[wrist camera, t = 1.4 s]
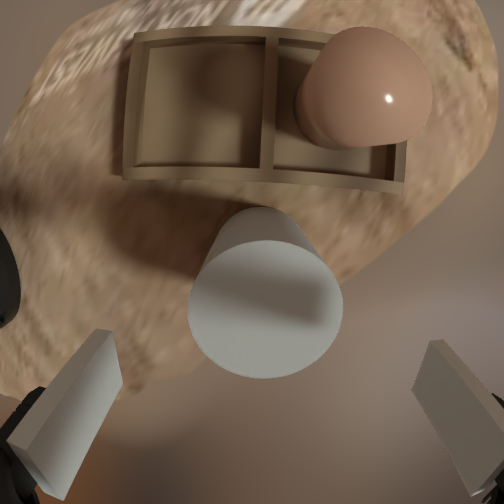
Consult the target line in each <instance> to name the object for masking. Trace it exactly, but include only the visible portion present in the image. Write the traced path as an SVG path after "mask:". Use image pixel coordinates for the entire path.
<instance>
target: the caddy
mask: <svg viewBox="0 0 504 504" xmlns="http://www.w3.org/2000/svg"><path fill="white" fill-rule="evenodd" d="M334 35H335V34H329V33H322V32H315V31H308V30H299V29H289V28H277V27H261V26H199V27H183V28H171V29H162V30H153V31H146V32H139V33H134V37H133V44H132V51H131V58H130V66H129V74H128V83H127V93H126V105H125V118H124V136H123V169H122V180H152V179H186V180H231V181H255V182H274V183H290V184H305V185H317V186H329V187H340V188H350V189H360V190H369V191H378V192H387V193H395V194H402V195H403V190H404V178H405V164H406V146H407V140H406V141H403V142H400V143H395V144H386V145H377V146H369V147H361V148H354V149H347V150H329V149H325V148H322V147H320V146H317V145H316V144H314V143H312V142H311V141H310V140H308V139H307V138H306V137H305V136H304V135H303V133H302V132H301V131H300V129H299V127H298V126H297V123H296V121H295V118H294V113H293V100H294V96H295V94H296V91H297V90H298V88H299V86H300V85H301V83H302V81H303V80H304V78H305V76H306V75H307V73H308V72H309V70H310V68H311V67H312V65H313V63H314V62H315V60H316V59H317V57H318V55H319V54H320V52H321V51H322V49H323V48H324V46H325V44H326V43H327V42H328V41H329V40H330V39H331V38H332V37H333V36H334Z"/></svg>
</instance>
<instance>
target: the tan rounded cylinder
mask: <svg viewBox="0 0 504 504" xmlns="http://www.w3.org/2000/svg"><path fill="white" fill-rule="evenodd" d="M432 103H433V93H432V86H431V81H430V78H429V75H428V73H427V70H426V68H425V66H424V65H423V63H422V61H421V60H420V58H419V57H418V56H417V54H416V53H415V52H414V51H413V50H412V49H411V48H410V47H409V46H408V45H407V44H406V43H405V42H403V41H402V40H401V39H399V38H398V37H396V36H394V35H392V34H390V33H388V32H386V31H383V30H380V29H377V28H371V27H354V28H349V29H346V30H343V31H341V32H339V33H337V34H336V35H334V36H333V37H332V38H331V39H330V40H329V41H328V42H327V43H326V44H325V46H324V48H323V49H322V51H321V52H320V54H319V55H318V57H317V59H316V60H315V62H314V63H313V65H312V67H311V68H310V70H309V72H308V73H307V75H306V76H305V78H304V80H303V81H302V83H301V85H300V86H299V88H298V90H297V91H296V94H295V96H294V100H293V113H294V118H295V121H296V123H297V126H298V127H299V129H300V131H301V132H302V133H303V135H304V136H305V137H306V138H307V139H308V140H310V141H311V142H312V143H314V144H316V145H317V146H320V147H322V148H325V149H329V150H347V149H354V148H361V147H369V146H377V145H386V144H395V143H400V142H403V141H406V140H408V139H410V138H412V137H413V136H415V135H416V134H417V133H419V131H420V130H421V129H422V128H423V127H424V125H425V124H426V122H427V120H428V118H429V116H430V113H431V109H432Z"/></svg>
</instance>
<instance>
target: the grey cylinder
mask: <svg viewBox="0 0 504 504" xmlns="http://www.w3.org/2000/svg"><path fill="white" fill-rule="evenodd" d="M342 315H343V300H342V294H341V290H340V287H339V285H338V282H337V280H336V278H335V276H334V275H333V273H332V272H331V270H330V269H329V267H328V266H327V265H326V263H325V262H324V260H323V259H322V258H321V256H320V255H319V253H318V252H317V250H316V249H315V248H314V246H313V245H312V244H311V242H310V241H309V239H308V238H307V237H306V235H305V234H304V232H303V231H302V230H301V228H300V227H299V226H298V224H297V223H296V222H295V221H294V220H293V219H292V218H291V217H290V216H288V215H287V214H285V213H284V212H282V211H280V210H277V209H274V208H270V207H252V208H247V209H244V210H242V211H240V212H238V213H236V214H234V215H233V216H232V217H230V218H229V219H228V220H227V221H226V222H225V223H224V225H223V226H222V227H221V229H220V231H219V233H218V235H217V237H216V239H215V241H214V243H213V245H212V247H211V249H210V251H209V253H208V255H207V257H206V259H205V261H204V263H203V265H202V267H201V270H200V272H199V274H198V276H197V278H196V280H195V282H194V284H193V286H192V289H191V292H190V295H189V300H188V322H189V326H190V330H191V332H192V335H193V337H194V339H195V341H196V343H197V344H198V346H199V347H200V349H201V350H202V351H203V352H204V353H205V354H206V355H207V357H209V358H210V359H211V360H212V361H214V362H215V363H216V364H218V365H219V366H220V367H222V368H224V369H226V370H228V371H230V372H233V373H235V374H238V375H242V376H246V377H252V378H275V377H281V376H285V375H289V374H292V373H295V372H297V371H300V370H302V369H304V368H305V367H307V366H309V365H310V364H312V363H313V362H315V361H316V360H317V359H318V358H320V357H321V356H322V355H323V354H324V352H325V351H326V350H327V349H328V348H329V347H330V345H331V344H332V342H333V341H334V339H335V337H336V335H337V333H338V331H339V328H340V325H341V320H342Z"/></svg>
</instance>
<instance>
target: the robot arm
mask: <svg viewBox="0 0 504 504" xmlns="http://www.w3.org/2000/svg"><path fill="white" fill-rule="evenodd" d="M20 297H21V289H20V279H19V274H18V269H17V265H16V262H15V259H14V256H13V253H12V250H11V248H10V246H9V244H8V242H7V240H6V238H5V236H4V234H3V233H2V231H1V230H0V329H1V328H3V327H4V326H5V325H6V324H8V323H9V322H10V321H11V320H13V319H14V317H15V316H16V314H17V312H18V309H19V305H20ZM122 385H123V381H122V377H121V372H120V368H119V363H118V358H117V354H116V349H115V343H114V338H113V332H112V331H107V330H101V329H96V330H95V331H94V332H93V333H92V334H91V335H90V336H89V338H88V339H87V340H86V341H85V342H84V343H83V345H82V346H81V347H80V348H79V349H78V350H77V352H76V353H75V354H74V355H73V356H72V358H71V359H70V360H69V361H68V362H67V363H66V365H65V366H64V367H63V368H62V370H61V371H60V372H59V373H58V374H57V376H56V377H55V378H54V379H53V381H52V382H51V383H50V384H49V385H48V387H47V388H44V387H41V386H39V387H38V388H36V389H35V390H33V391H31V392H30V393H29V394H28V395H27V396H26V397H25V398H24V400H23V401H22V404H19V406H18V407H17V408H16V411H14V412H13V413H12V414H11V416H10V417H9V418H8V419H7V421H6V422H5V423H4V425H3V426H2V427H1V429H0V504H40V502H39V499H38V496H37V494H36V492H35V490H34V488H35V487H36V485H37V484H38V485H39V486H40V488H41V489H42V490H43V491H44V492H45V493H47V494H49V495H51V496H54V497H56V498H58V499H60V500H63V501H64V499H65V496H66V494H67V492H68V490H69V488H70V486H71V484H72V482H73V480H74V477H75V475H76V473H77V471H78V469H79V467H80V465H81V463H82V461H83V459H84V457H85V455H86V453H87V451H88V449H89V447H90V445H91V443H92V441H93V439H94V437H95V435H96V434H97V431H98V430H99V428H100V426H101V424H102V422H103V420H104V418H105V416H106V414H107V413H108V411H109V409H110V407H111V405H112V403H113V401H114V399H115V398H116V396H117V394H118V392H119V390H120V388H121V387H122ZM412 391H413V393H414V395H415V396H416V398H417V400H418V401H419V403H420V405H421V407H422V408H423V410H424V412H425V413H426V415H427V417H428V418H429V420H430V422H431V424H432V425H433V427H434V429H435V430H436V432H437V434H438V436H439V438H440V440H441V441H442V443H443V445H444V447H445V449H446V450H447V452H448V454H449V456H450V458H451V460H452V461H453V463H454V465H455V467H456V469H457V471H458V473H459V475H460V477H461V478H462V480H463V482H464V484H465V486H466V488H467V490H468V492H469V494H470V496H473V495H475V494H478V493H480V492H482V491H484V490H485V489H487V488H488V486H489V485H490V484H491V483H492V482H493V481H494V480H495V481H496V483H497V485H496V486H495V487H494V488H493V489H492V490H491V491H490V492H489V493H488V494H487V495H486V496H485V497H484V499H483V501H482V503H484V502H485V501H486V500H487V499H488V498H489V497H490V496H491V499H490V500H489V501H488V503H487V504H504V401H503V400H502V399H501V398H499V397H498V396H496V395H495V394H493V393H492V394H491V393H490V392H489V391H488V389H487V388H486V387H485V386H484V385H483V384H482V382H481V381H480V380H479V379H478V378H477V377H476V375H475V374H474V373H473V372H472V371H471V370H470V369H469V368H468V366H467V365H466V364H465V363H464V362H463V361H462V360H461V359H460V357H459V356H458V355H457V354H456V353H455V352H454V351H453V350H452V349H451V347H450V346H448V344H447V343H446V342H445V341H444V340H434V341H430V342H429V345H428V348H427V351H426V353H425V356H424V359H423V362H422V365H421V367H420V370H419V373H418V375H417V378H416V380H415V383H414V385H413V388H412Z"/></svg>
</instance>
